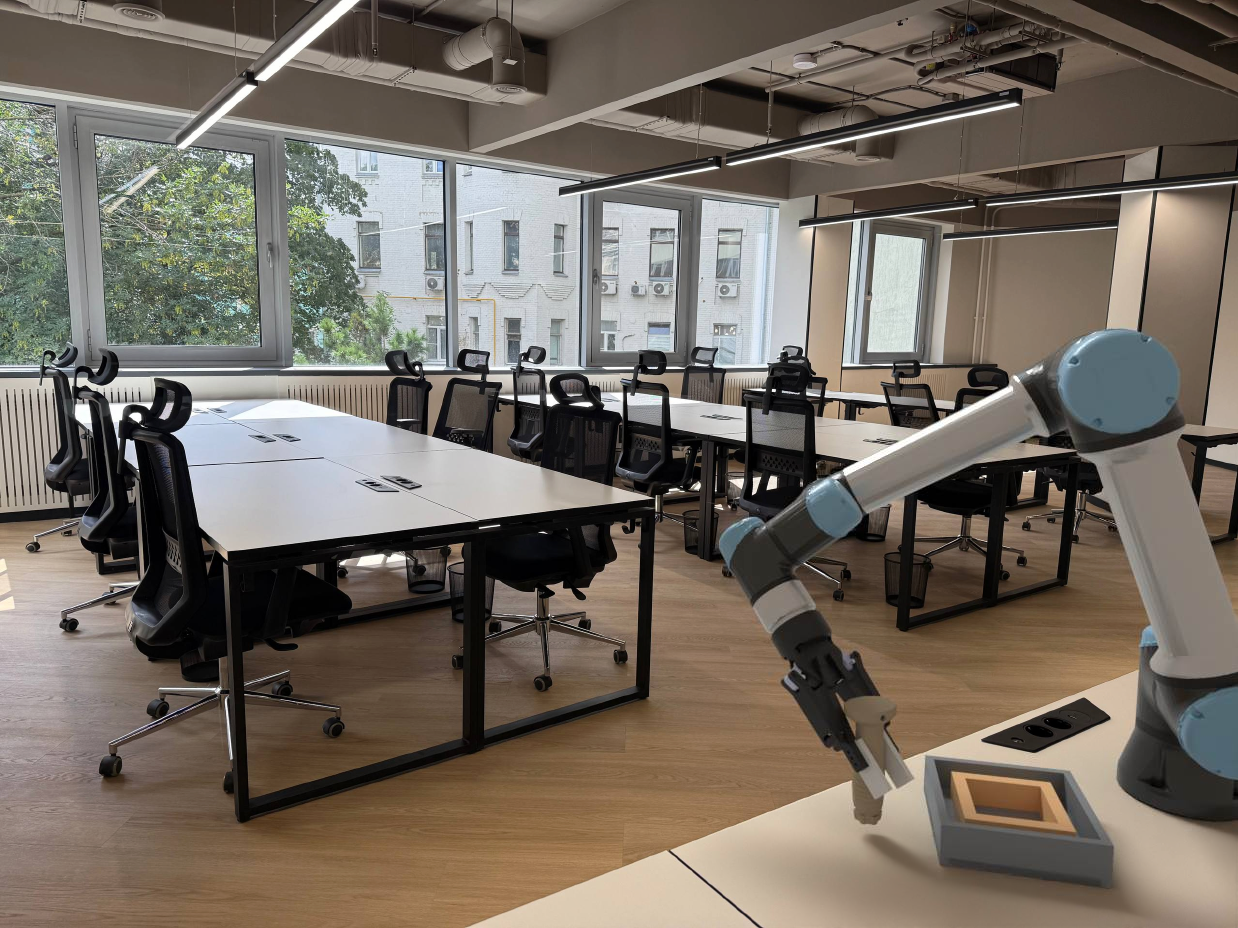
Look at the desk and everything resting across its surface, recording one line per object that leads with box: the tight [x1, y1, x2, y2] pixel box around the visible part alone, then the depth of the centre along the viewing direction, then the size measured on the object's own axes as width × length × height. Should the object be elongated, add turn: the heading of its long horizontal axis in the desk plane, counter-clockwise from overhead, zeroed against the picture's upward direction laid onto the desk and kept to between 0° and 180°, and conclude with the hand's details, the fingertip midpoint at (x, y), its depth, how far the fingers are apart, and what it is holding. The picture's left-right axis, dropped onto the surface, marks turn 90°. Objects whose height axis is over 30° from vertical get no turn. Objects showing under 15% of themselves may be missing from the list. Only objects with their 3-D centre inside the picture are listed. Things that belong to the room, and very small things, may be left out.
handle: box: [843, 695, 898, 826], centre depth 103 cm, size 5×6×15 cm
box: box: [923, 754, 1115, 889], centre depth 104 cm, size 18×18×5 cm
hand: (894, 788), depth 100 cm, fingers closed on handle, 3 cm apart
